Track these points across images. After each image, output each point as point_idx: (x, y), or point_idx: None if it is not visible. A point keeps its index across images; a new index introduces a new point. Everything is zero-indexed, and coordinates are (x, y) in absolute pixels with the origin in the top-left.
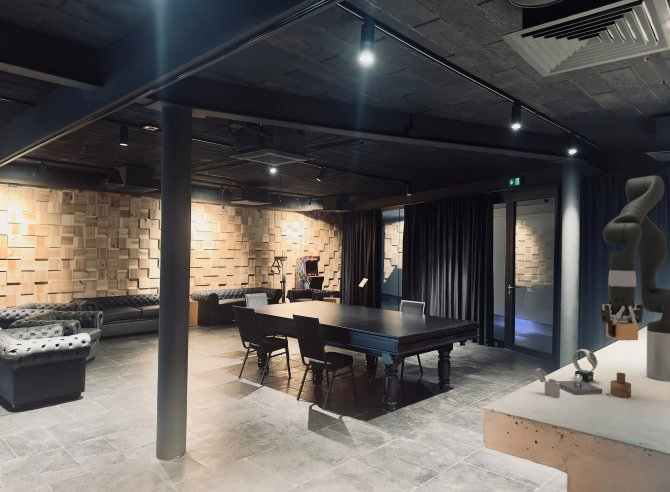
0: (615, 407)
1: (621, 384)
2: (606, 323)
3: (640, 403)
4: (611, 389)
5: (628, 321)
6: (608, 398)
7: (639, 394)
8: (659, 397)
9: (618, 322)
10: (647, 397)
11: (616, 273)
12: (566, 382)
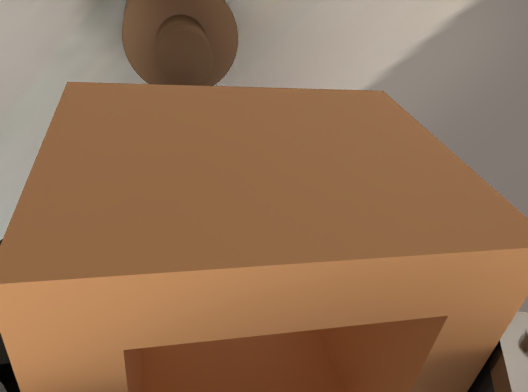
0: (2, 179)
1: (155, 74)
2: (2, 255)
3: None
4: (125, 7)
5: (499, 382)
6: (58, 59)
7: (296, 24)
8: (346, 82)
9: (337, 315)
10: (290, 74)
11: None
12: None
